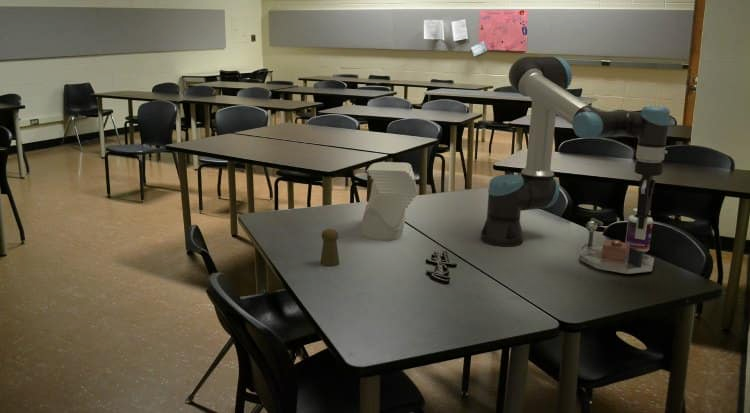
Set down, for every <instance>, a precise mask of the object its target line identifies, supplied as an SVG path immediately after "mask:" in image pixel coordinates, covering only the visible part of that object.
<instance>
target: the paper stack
mask: <svg viewBox="0 0 750 413" xmlns="http://www.w3.org/2000/svg"><path fill="white" fill-rule="evenodd" d="M366 173H368V176H370V179H371V180H372V183H371V190H370V195H369V199H368V202H367V203H366V205H365V209H364V212H363V216H362V237H364V238H366V239H370V240H375V241H396V240H399V239H400V238H401V237H402V236H403V232H404V227H405V223H406V209H408V207H409V205H411V202H413V201H414V199H415V198H416V195H418V194H419V192H418V187H417V184H416V180H415V174H414V171H413V167H412V164H410V163H408V162H395V161H394V162H393V161H380V162H379V161H378V162H373V163H372V164H369V166H368V168H367V169H366Z"/></svg>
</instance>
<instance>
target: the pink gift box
mask: <svg viewBox="0 0 750 413" xmlns="http://www.w3.org/2000/svg"><path fill="white" fill-rule="evenodd" d="M602 245H603V248H602V256H601V257H606V258H611V259H616V260H622V261H624V260H625V259H626V258H627V256H628V254H629V247H630V243H625V242H623V241H622V240H619V239H612V240H611V239H606V241H605V242H604V243H603V244H602Z"/></svg>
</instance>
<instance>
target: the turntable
mask: <svg viewBox="0 0 750 413" xmlns="http://www.w3.org/2000/svg"><path fill="white" fill-rule="evenodd" d="M582 248H583V247H582ZM602 248H603V244H602V245H596V246H590V247H584V248H583V249H581V251H580V253H579V257H578V258H579V259H578V260H580V261H582V262H583V263H585V264H587V265H590V266H591V267H593V268H595V269H598V270H603V271H608V272H609V271H610V272H615V273H621V274H626V275H627V274H629V275H630V274H638V273H640V274H641V273H648V272H652V271H653V267H654V263H655V262H654V261H655V257H653V256H651V255H648V254H647V253H645V252H643V251H640V250H638V249H636V248H634V247H630V249H629V254H628V256H627V258H626V259H625V260H624V261H622V260H616V259H611V258H606V257H601V256H602Z"/></svg>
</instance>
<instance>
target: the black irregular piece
mask: <svg viewBox="0 0 750 413" xmlns="http://www.w3.org/2000/svg"><path fill="white" fill-rule="evenodd" d="M425 264H427V265H431V266H434V270H429V269H428V270H426V271H425V275H426V276H428V277H429V278H430V279H431V280H433V281H434V282H437V283H439V284H442V285H450V281H451V277H450V271H449V270H448V269H449V268H450V269H451V268H452V269H454V268H455V269H456V268H457V267H458V264H457V263H453V262H450V259H449V255H448V252H447V251H446V250H443V251H442V254H441V253H439V252H438V251H434V252H433V253H432V254H431V258H430V259H428V258H426V259H425Z"/></svg>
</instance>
